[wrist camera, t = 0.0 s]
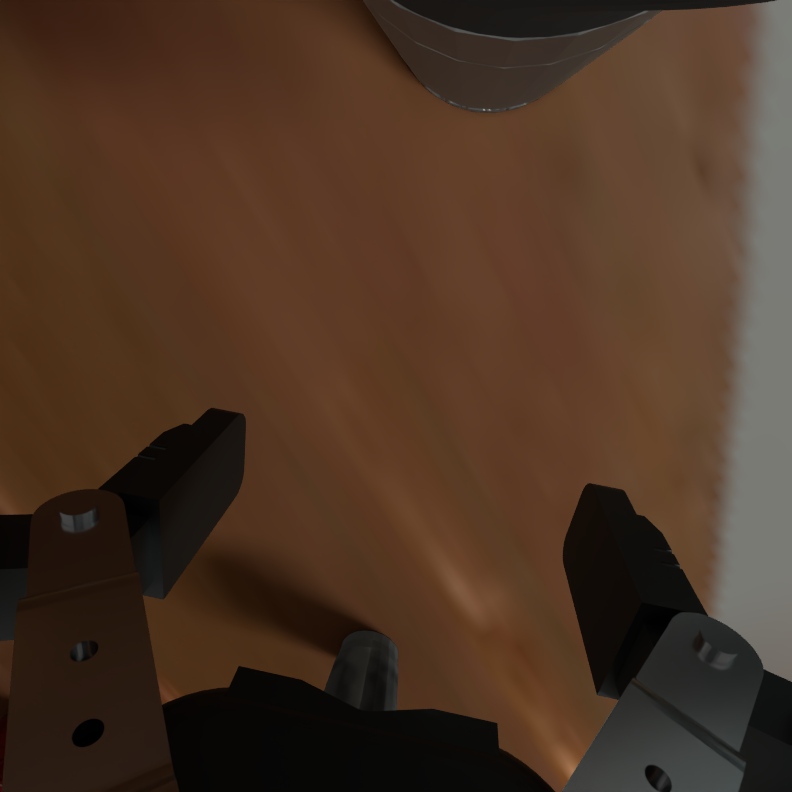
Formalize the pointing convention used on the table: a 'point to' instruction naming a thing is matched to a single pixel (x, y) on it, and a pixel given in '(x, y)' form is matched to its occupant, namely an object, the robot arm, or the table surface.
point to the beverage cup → (366, 672)
